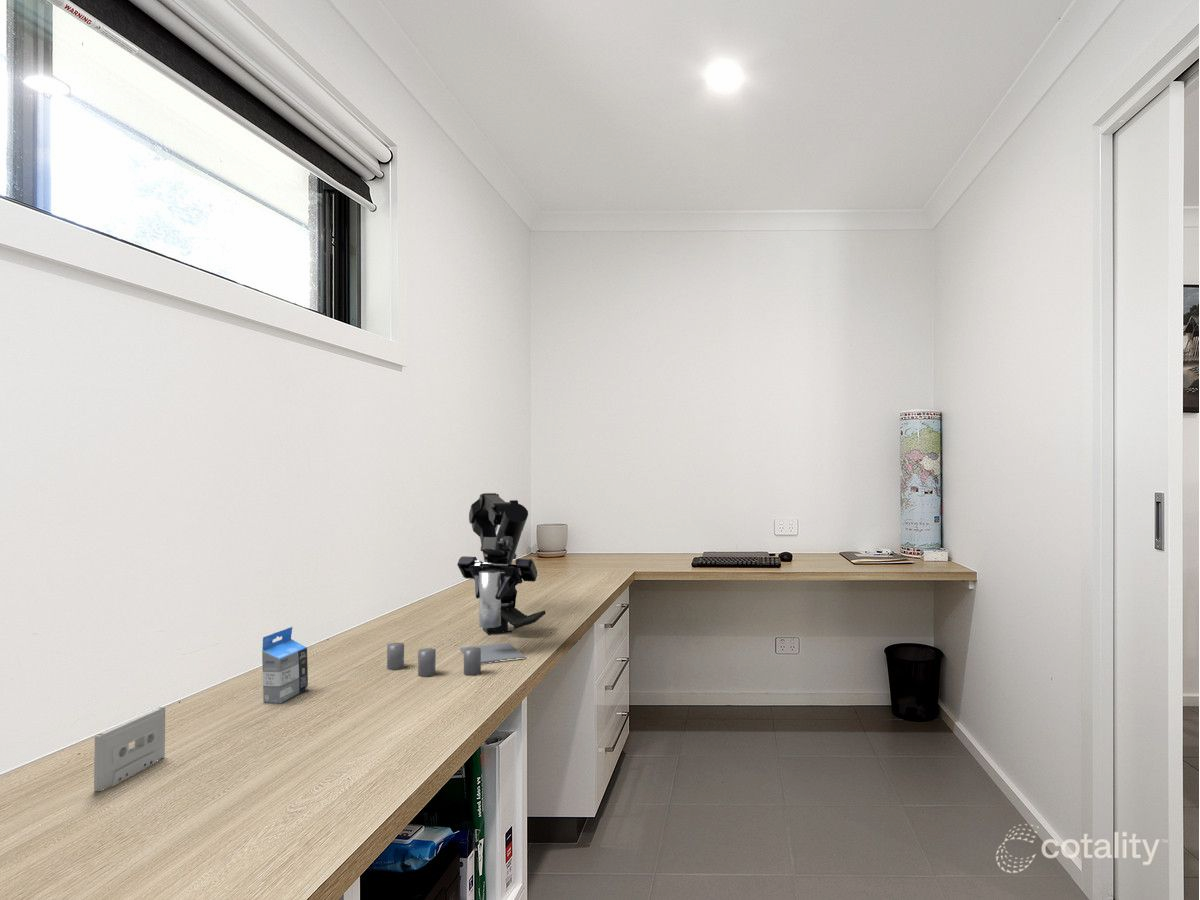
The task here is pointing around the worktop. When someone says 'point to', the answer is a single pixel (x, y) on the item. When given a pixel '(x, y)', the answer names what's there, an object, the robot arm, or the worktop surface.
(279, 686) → the label tape box
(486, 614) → the ball
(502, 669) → the worktop surface
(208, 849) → the worktop surface
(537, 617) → the handheld gaming console
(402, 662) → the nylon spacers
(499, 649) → the rubber mat
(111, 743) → the cassette
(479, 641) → the worktop surface
